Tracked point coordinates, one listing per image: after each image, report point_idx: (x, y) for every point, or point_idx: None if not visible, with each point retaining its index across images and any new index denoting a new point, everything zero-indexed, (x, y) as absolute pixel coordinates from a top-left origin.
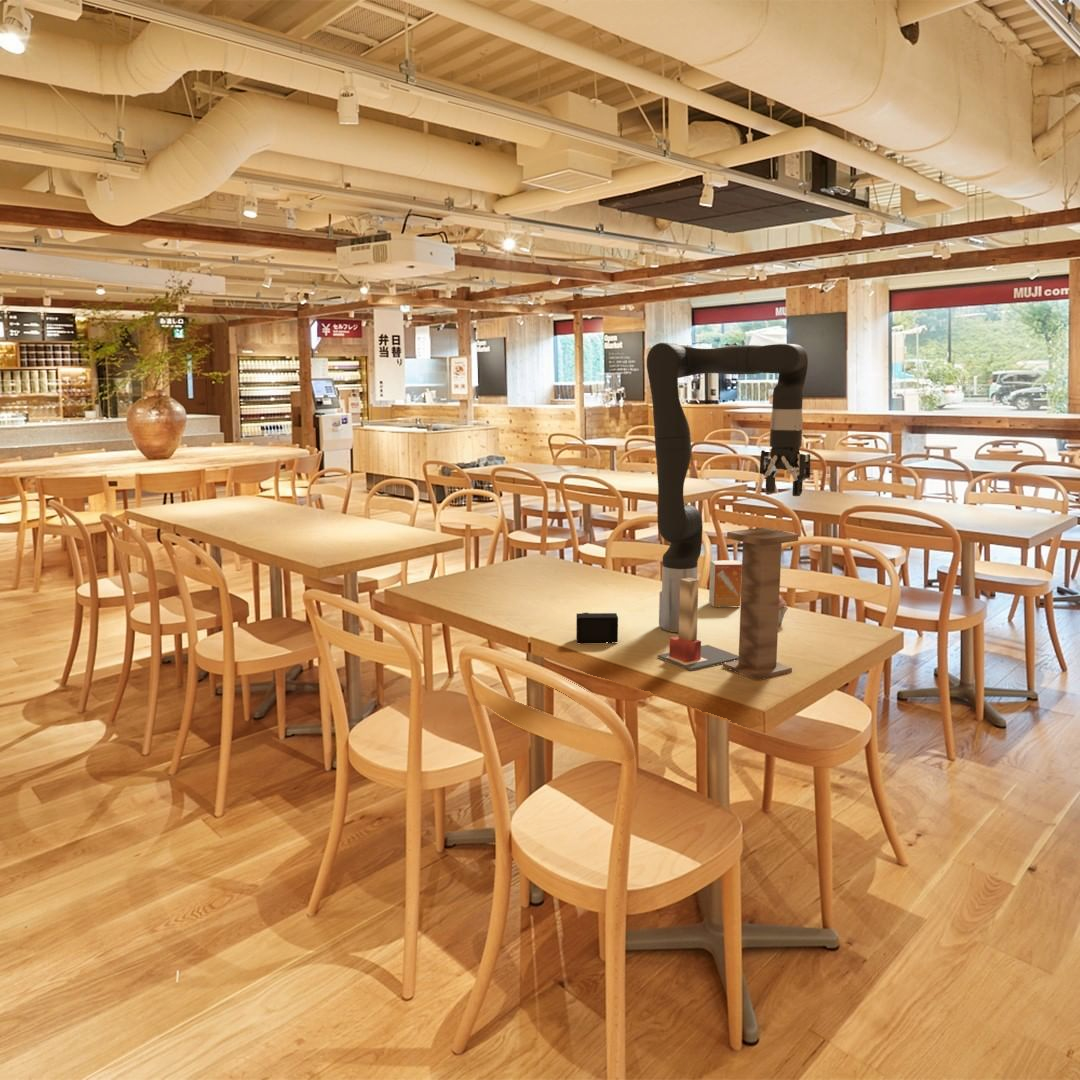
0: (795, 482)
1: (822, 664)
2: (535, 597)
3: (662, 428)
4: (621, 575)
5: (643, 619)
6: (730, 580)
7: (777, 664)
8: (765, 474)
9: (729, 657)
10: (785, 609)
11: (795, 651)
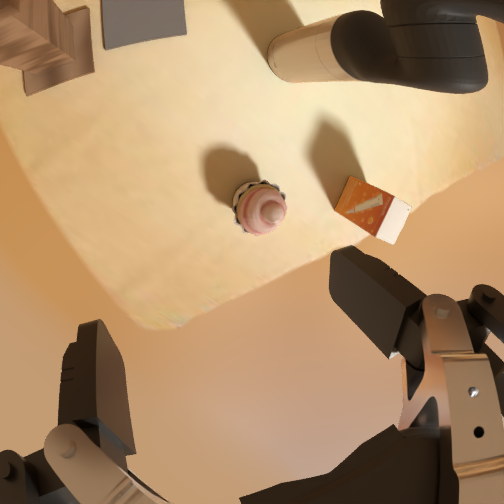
0: (76, 412)
1: (40, 158)
2: None
3: None
4: (466, 170)
5: None
6: (365, 210)
7: (45, 81)
8: (448, 302)
9: (112, 31)
10: (237, 223)
11: (105, 152)
